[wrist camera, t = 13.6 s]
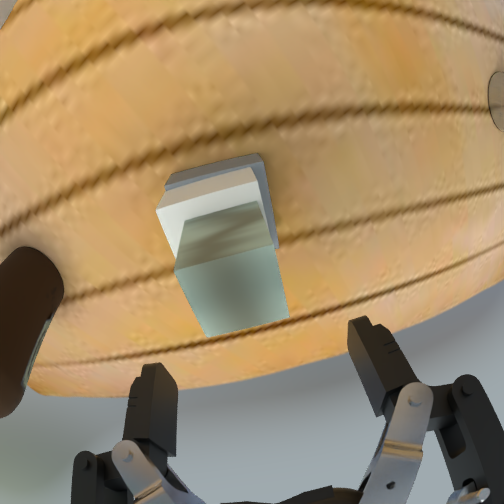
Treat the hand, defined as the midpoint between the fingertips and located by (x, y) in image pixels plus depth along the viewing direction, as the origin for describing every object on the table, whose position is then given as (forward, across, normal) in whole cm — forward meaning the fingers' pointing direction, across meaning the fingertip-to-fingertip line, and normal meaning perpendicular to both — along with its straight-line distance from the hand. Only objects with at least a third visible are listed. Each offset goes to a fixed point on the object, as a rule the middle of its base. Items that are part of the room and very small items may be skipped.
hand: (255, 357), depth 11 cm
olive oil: (+18, +27, +2) cm, 33 cm away
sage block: (+10, +1, 0) cm, 10 cm away
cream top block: (+14, +1, 0) cm, 14 cm away
